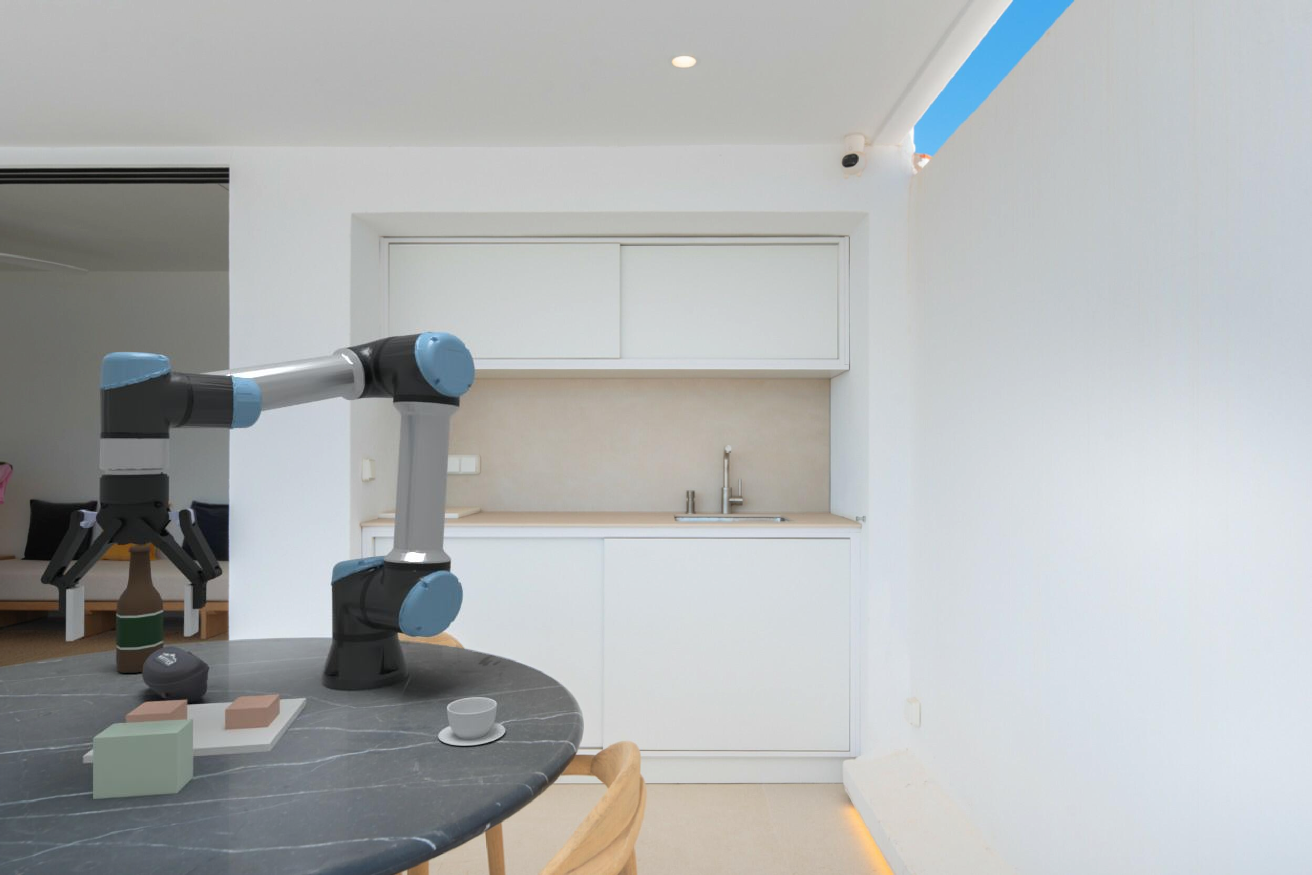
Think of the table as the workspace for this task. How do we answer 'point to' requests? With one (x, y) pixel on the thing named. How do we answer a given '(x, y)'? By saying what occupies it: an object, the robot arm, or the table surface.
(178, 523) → the robot arm
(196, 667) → the glasses case
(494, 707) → the teacup
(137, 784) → the key block
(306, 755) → the table surface
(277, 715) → the slot base
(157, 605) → the beer bottle
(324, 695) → the table surface
